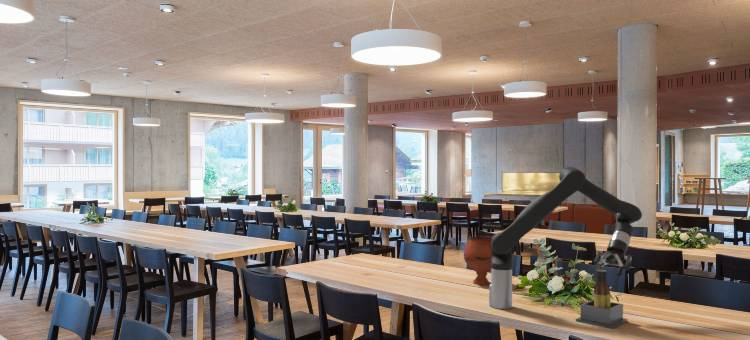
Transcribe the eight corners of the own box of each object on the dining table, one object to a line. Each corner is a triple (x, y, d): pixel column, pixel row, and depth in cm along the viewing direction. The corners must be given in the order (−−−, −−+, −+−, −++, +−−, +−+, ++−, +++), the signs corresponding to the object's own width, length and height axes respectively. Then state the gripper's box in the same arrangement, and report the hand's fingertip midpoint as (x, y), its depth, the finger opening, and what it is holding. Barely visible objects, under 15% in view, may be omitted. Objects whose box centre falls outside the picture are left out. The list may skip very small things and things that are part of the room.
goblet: (497, 279, 311) (497, 235, 311) (501, 287, 292) (501, 239, 292) (462, 279, 313) (462, 235, 313) (464, 286, 294) (464, 239, 294)
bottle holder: (575, 321, 226) (575, 304, 226) (591, 314, 237) (591, 298, 237) (613, 328, 216) (613, 310, 216) (627, 321, 226) (627, 304, 226)
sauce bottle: (606, 316, 230) (607, 268, 229) (613, 320, 223) (614, 271, 223) (591, 316, 229) (591, 268, 229) (597, 321, 223) (598, 271, 223)
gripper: (599, 237, 241) (588, 266, 233) (633, 240, 231) (623, 271, 223) (604, 248, 245) (593, 277, 237) (638, 251, 235) (628, 282, 227)
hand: (607, 274), depth 230 cm, fingers open, 8 cm apart
